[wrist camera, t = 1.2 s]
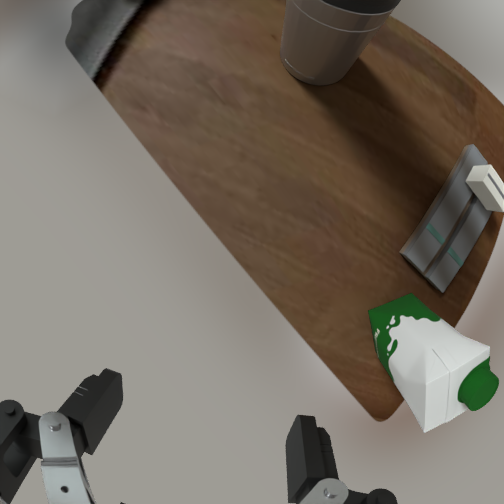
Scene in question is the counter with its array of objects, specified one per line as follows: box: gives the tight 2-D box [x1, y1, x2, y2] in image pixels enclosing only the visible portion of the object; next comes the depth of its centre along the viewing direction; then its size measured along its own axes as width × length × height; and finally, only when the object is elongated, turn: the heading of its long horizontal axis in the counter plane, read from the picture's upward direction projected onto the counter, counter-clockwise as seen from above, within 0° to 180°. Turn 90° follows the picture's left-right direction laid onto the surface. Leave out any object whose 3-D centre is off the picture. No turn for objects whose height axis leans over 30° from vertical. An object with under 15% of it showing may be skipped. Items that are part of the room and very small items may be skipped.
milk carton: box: [368, 293, 499, 433], centre depth 27 cm, size 9×9×20 cm
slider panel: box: [399, 144, 492, 293], centre depth 33 cm, size 20×9×2 cm, turn 143°
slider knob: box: [465, 165, 504, 212], centre depth 29 cm, size 3×6×5 cm, turn 54°
